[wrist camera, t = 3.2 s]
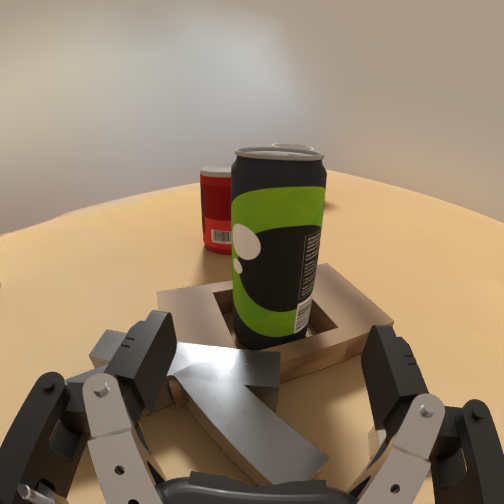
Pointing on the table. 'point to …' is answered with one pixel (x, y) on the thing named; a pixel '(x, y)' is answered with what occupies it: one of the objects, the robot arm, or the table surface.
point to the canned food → (216, 207)
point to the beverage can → (275, 241)
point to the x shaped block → (231, 407)
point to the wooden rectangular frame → (291, 354)
